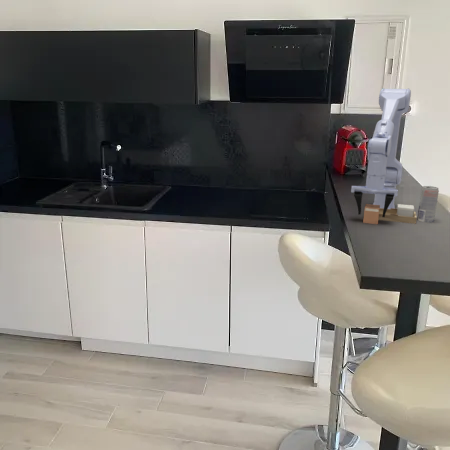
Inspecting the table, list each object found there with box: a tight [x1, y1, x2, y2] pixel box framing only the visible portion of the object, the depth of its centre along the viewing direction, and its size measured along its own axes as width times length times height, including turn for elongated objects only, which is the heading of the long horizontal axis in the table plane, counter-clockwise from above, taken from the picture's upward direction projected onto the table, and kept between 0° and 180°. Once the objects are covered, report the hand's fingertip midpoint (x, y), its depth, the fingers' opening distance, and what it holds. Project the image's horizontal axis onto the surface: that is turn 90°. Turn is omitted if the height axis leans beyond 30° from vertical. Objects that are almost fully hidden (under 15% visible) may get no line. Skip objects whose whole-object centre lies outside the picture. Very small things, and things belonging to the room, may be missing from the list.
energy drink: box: [416, 185, 440, 224], centre depth 155 cm, size 5×5×12 cm
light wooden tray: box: [378, 207, 418, 225], centre depth 159 cm, size 9×14×3 cm, turn 70°
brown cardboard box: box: [362, 203, 380, 225], centre depth 153 cm, size 5×5×6 cm
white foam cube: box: [396, 203, 415, 217], centre depth 157 cm, size 5×5×4 cm
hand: (371, 215), depth 153 cm, fingers open, 7 cm apart
